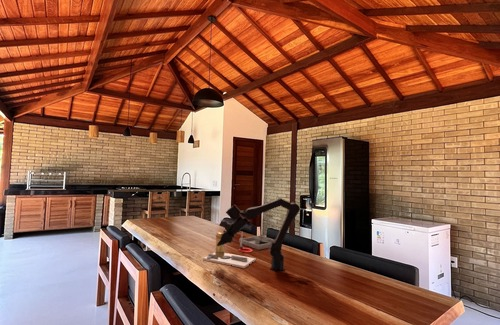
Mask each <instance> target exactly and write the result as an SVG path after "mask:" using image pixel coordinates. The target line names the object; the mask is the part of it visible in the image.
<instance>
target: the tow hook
mask: <svg viewBox="0 0 500 325" xmlns="http://www.w3.org/2000/svg"><path fill="white" fill-rule="evenodd" d="M243 233H244V232H243V231H241V234H240V239H241V243H239V247H238V248H239V249H237V251H238V252H241V253H245V254H247V253H248V254H249V253H252V252H253V248H251V247H244V245H243V243H242V240H243V238H244V237H243V236H244V235H243Z"/></svg>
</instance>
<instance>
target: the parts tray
mask: <svg viewBox="0 0 500 325" xmlns="http://www.w3.org/2000/svg"><path fill="white" fill-rule="evenodd" d="M255 236H256V237H260V238H261V239H262V238H264V239H268V241H269V242H266V241H262V240H260V241H258V242H259V245H257V244H255V240H256V239H253V238H254V236H251V237H249V236H248V237H243V240H242V243H243V244H242V246H247V247H248V248H251V249H255V250H258V251H260V250H263V249H264V250H265V249H269V245H270V244H271V240H273V241H274V240H275V239H273V238H270V237H266V236H263V235H255ZM240 243H241V238H239V240H238V244H240Z"/></svg>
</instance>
